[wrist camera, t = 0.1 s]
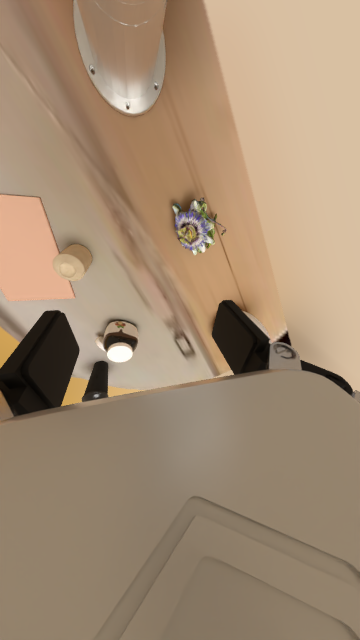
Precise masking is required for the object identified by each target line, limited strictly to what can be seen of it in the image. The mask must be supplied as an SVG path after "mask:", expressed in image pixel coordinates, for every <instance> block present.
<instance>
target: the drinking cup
mask: <svg viewBox="0 0 360 640" xmlns="http://www.w3.org/2000/svg"><path fill="white" fill-rule="evenodd" d="M107 391H108V364H107V363H106V362H104V361H99V362H96V363H95V365H94V368H93V371H92V373H91V376H90V379H89V382H88V385H87V388H86V391H85V394H84V396H83V397H82V402H87V401H92V400H97V399H103V398H108V395H107V393H108V392H107Z"/></svg>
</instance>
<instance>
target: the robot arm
mask: <svg viewBox="0 0 360 640" xmlns="http://www.w3.org/2000/svg"><path fill="white" fill-rule="evenodd" d="M166 6H167V0H73V18H74V27H75V34H76V38H77V43H78V47H79V51H80V54H81V57H82V60H83V63H84V65H85V68H86V70H87V73H88V75H89V77H90V79H91V81H92V83H93V85H94V86H95V88H96V89H97V91H98V92H99V94H100V95H101V96H102V98H103V99H104V100H105V101H106V102H107V103H108V104H109V105H110V106H111V107H112V108H114V109H115V110H116V111H118V112H120V113H122V114H124V115H128V116H139V115H142V114H144V113H146V112H147V111H149V110H150V109H151V108H152V106H153V105H154V104H155V102H156V100H157V99H158V97H159V94H160V91H161V88H162V85H163V81H164V75H165V67H166V49H165V38H164V33H163V22H164V17H165V11H166ZM92 71H94V72H95V74H94V75H93V74H92ZM154 87H157V90H155V89H154ZM127 106H128V107H129V110H127V109H126V107H127ZM212 337H213V339H214V340H215V342H216V344H217V346H218V347H219V349H220V351H221V352H222V354H223V356H224V358H225V359H226V361H227V363H228V364H229V366H230V368H231V370H232V371H233V373H234V375H230V376H224V377H219V378H213V379H207V380H202V381H196V382H190V383H185V384H179V385H174V386H168V387H163V388H157V389H152V390H146V391H140V392H136V393H130V394H124V395H119V396H114V397H108V398H103V399H97V400H92V401H87V402H81V403H76V404H72V405H66V406H61V404H62V401H63V398H64V395H65V393H66V390H67V387H68V384H69V381H70V378H71V375H72V372H73V369H74V366H75V364H76V361H77V358H78V355H79V346H78V344H77V341H76V339H75V337H74V334H73V332H72V330H71V327H70V325H69V323H68V320H67V318H66V316H65V314H64V313H61V312H60V311H59V310H54V311H45V312H44V313H43V314H42V316H41V317H40V318H39V320H38V321H37V322H36V323H35V325H34V326H33V327H32V329H31V330H30V331H29V332H28V334H27V335H26V336H25V338H24V339H23V340H22V341H21V343H20V344H19V345H18V347H17V348H16V349H15V351H14V352H13V353H12V354H11V356H10V357H9V358H8V359H7V361H6V362H5V363H4V365H3V366H2V367H1V368H0V640H360V392H358V391H357V390H355V391H354V392H353V390H352V388H351V386H350V385H349V384H348V382H346V381H345V380H344V379H343V378H342V377H341V376H339V375H337V374H335V373H332V372H330V371H327V370H325V369H322V368H320V367H317V366H315V365H312V364H310V363H307V362H304V361H302V360H300V356H299V354H298V353H297V351H296V350H295V349H294V348H292V347H291V346H289V345H287V344H284V343H281V342H274V343H272V344H270V343H269V340H270V338H269V337H268V336H267V335H266V334H265V333H264V332H263V331H262V330H261V329H260V328H259V327H258V326H257V325H256V324H255V323H254V322H253V321H252V320H251V319H250V318H249V317H248V316H247V315H246V314H245V313H244V312H243V311H242V310H241V309H240V308H239V307H238V306H237V305H236V304H235V303H234V302H233V301H232V300H223V301H222V302H221V303H220V304H219V307H218V311H217V315H216V319H215V323H214V327H213V331H212Z"/></svg>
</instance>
